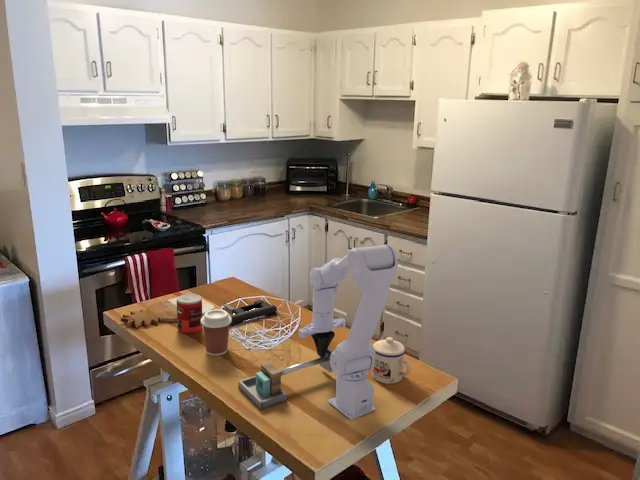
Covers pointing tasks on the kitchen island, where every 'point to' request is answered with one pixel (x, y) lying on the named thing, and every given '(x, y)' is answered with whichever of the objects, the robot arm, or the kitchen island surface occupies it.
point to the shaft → (311, 364)
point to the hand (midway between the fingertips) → (321, 355)
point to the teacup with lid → (389, 361)
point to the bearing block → (272, 377)
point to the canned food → (189, 313)
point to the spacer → (263, 384)
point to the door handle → (253, 314)
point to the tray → (256, 397)
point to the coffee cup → (216, 331)
